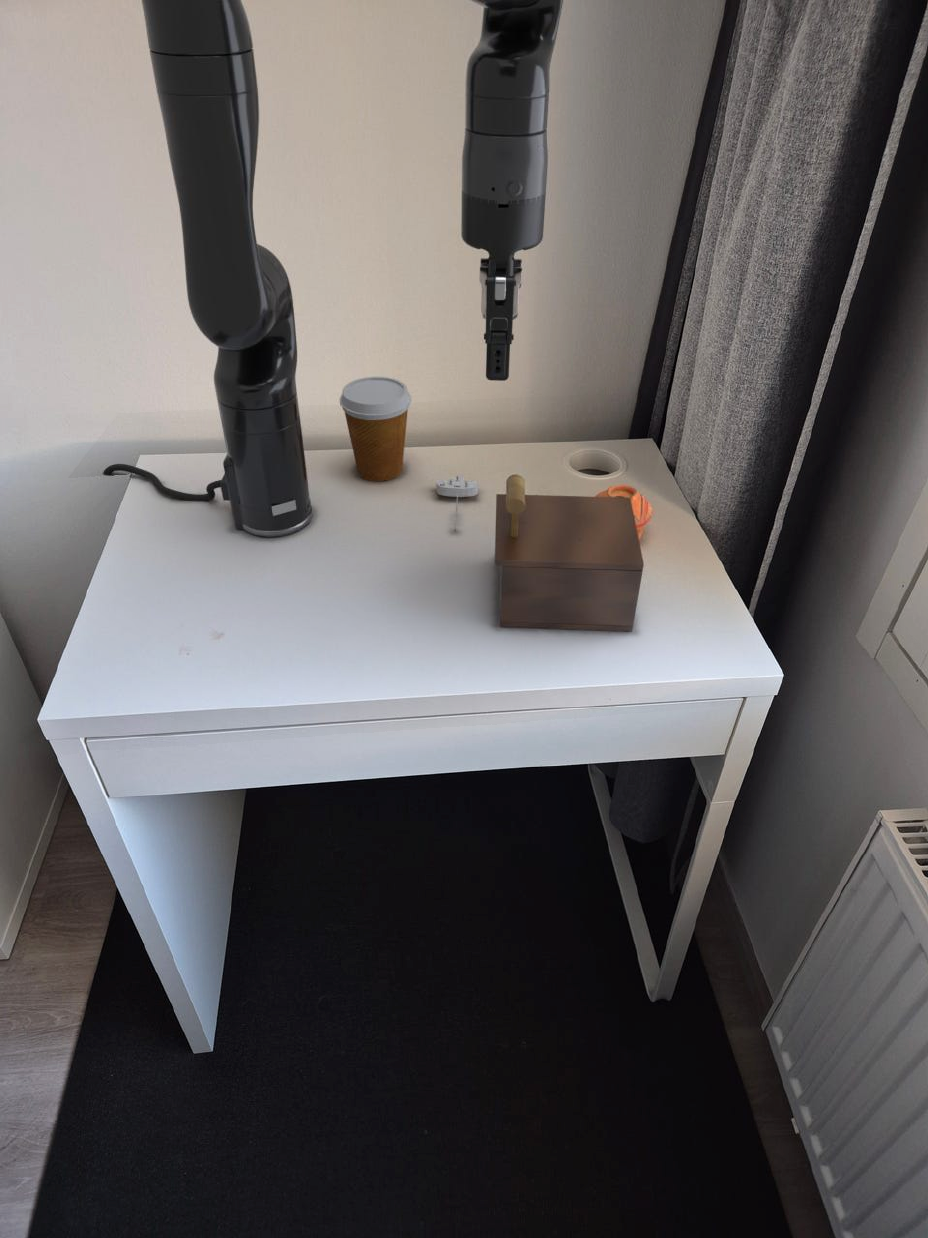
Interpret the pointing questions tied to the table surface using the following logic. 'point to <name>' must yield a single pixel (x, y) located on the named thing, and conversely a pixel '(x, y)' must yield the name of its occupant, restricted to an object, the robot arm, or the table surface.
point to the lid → (564, 531)
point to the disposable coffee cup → (377, 425)
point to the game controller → (457, 489)
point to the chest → (568, 598)
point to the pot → (638, 501)
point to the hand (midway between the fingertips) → (497, 361)
